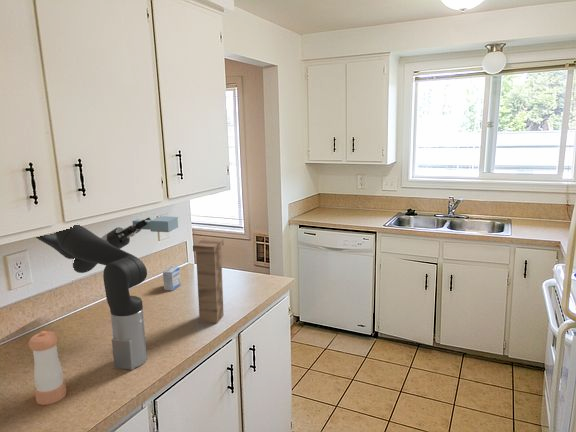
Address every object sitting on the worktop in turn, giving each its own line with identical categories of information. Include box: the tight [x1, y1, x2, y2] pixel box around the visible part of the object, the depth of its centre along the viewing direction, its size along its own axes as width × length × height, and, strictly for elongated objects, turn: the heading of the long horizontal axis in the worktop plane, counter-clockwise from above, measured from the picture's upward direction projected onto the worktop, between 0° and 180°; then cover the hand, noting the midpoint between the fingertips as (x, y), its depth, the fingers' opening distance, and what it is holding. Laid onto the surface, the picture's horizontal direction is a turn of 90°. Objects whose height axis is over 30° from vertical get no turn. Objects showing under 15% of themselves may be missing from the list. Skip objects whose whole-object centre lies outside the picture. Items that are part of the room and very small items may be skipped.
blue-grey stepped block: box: [131, 215, 179, 233], centre depth 158 cm, size 8×16×4 cm, turn 79°
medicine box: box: [162, 266, 182, 292], centre depth 192 cm, size 8×4×9 cm, turn 168°
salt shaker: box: [28, 330, 67, 406], centre depth 113 cm, size 7×7×19 cm
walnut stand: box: [192, 238, 225, 324], centre depth 158 cm, size 10×8×30 cm
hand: (148, 220), depth 158 cm, fingers closed on blue-grey stepped block, 3 cm apart
